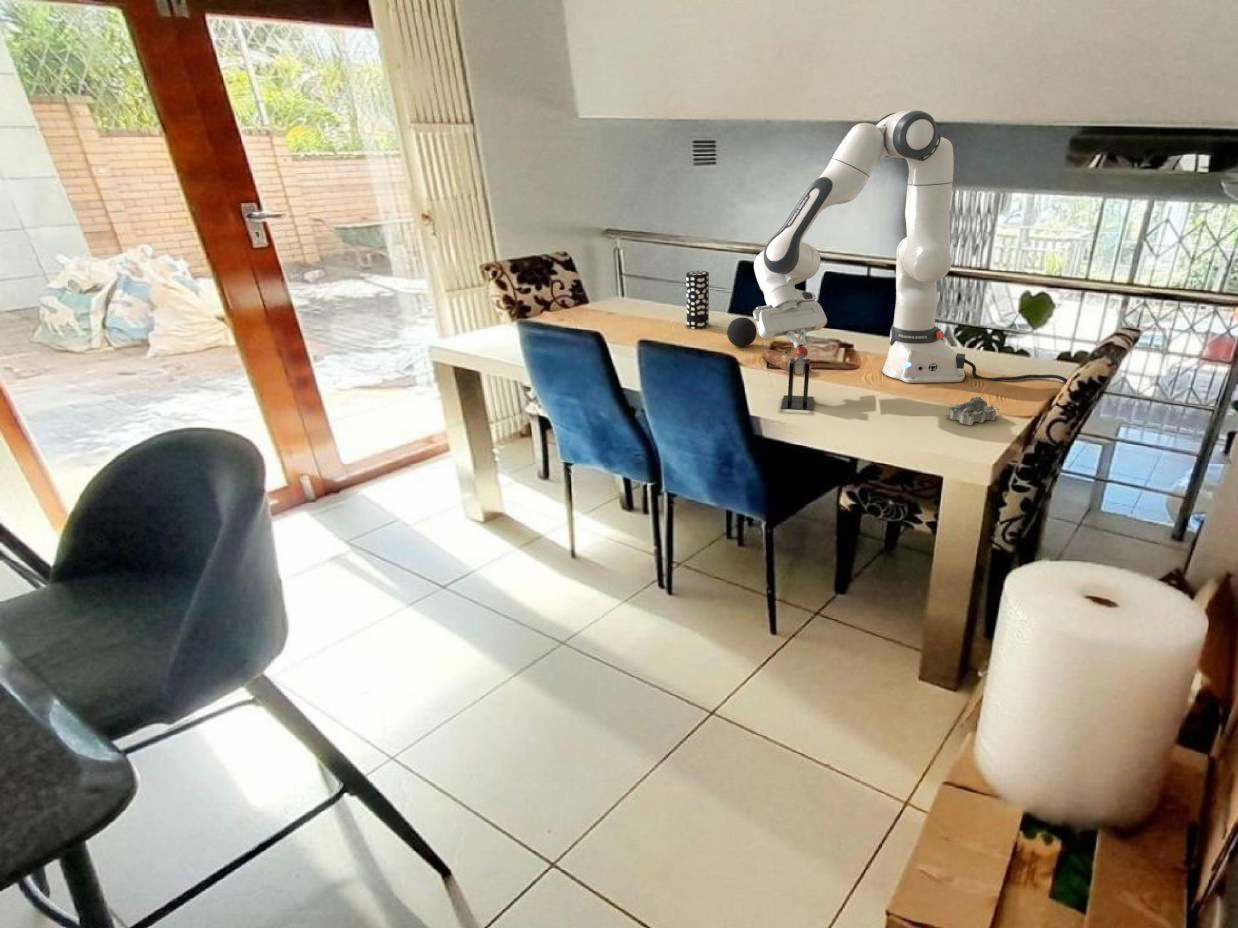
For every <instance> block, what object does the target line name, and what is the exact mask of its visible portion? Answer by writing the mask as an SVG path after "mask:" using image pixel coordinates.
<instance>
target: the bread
mask: <svg viewBox="0 0 1238 928" xmlns="http://www.w3.org/2000/svg"><path fill="white" fill-rule="evenodd" d="M761 358H762V360H763V361H765V362H767V363H769V364H770V365H772V366H775V367H777V368H780V369H781V370H783V371H785V372H787V373H789V370H788V364H790V360H791V358H795V361H794V375H796V374H795V364H796V361H798V360H799V358H798V357H797V355H794V354H789V353H787V352H782V351H778V350H774V349H765V351H763V353H762V354H761ZM803 361H804V371H805V364H806V359H805V358H803Z"/></svg>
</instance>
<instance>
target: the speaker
mask: <svg viewBox="0 0 1238 928" xmlns="http://www.w3.org/2000/svg"><path fill="white" fill-rule="evenodd" d="M757 333H758V328H757V325H756V324H755V322H754V321H753V320H751V319H750V318H748V317H746V316H745V317H737V318H734V319H733V320H732V321H731V322H730V323H729V325H728V326H727V329H726V335H727V339H728V340H729V342H730V343H731V344H732V345H734V346H735V347H738V348H745V347H748V346H749V345H751V344H752V343H754V341H755V339H756V338H757V336H758V335H757Z"/></svg>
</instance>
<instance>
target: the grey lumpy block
mask: <svg viewBox="0 0 1238 928" xmlns="http://www.w3.org/2000/svg"><path fill="white" fill-rule="evenodd" d="M947 409H949V411H950V413H949V420H954V421H959V423H960V424H962V425H967V426H973V425H974V423H980V424H982V423H984V422H985V421H995V419H996V414H997V412H996V411H997V410H1000V408H999V407H998V406H996V407H995V406H994V405H993V404H991V405H990V406H989V405H988V402H987V401H986V399H983V398H982V396H981V395H980V396H975V397H972V398H970V399H969V401H964V402H963V403H960V404H956V405H953V406H950V407H947Z"/></svg>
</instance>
